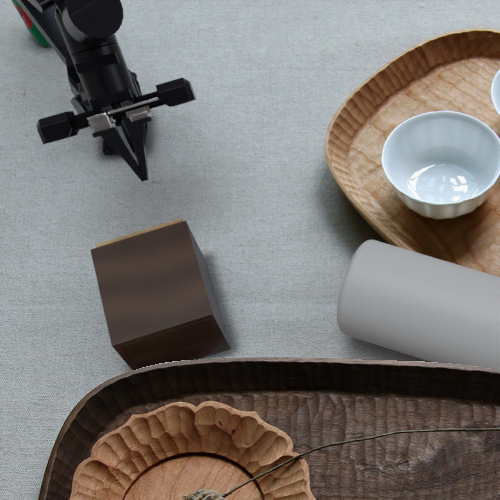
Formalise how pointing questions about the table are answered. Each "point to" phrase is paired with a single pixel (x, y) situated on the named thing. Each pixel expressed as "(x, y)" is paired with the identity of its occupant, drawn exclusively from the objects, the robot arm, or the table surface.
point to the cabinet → (159, 298)
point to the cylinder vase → (421, 306)
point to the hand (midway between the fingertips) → (145, 180)
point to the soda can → (31, 26)
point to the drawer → (138, 233)
